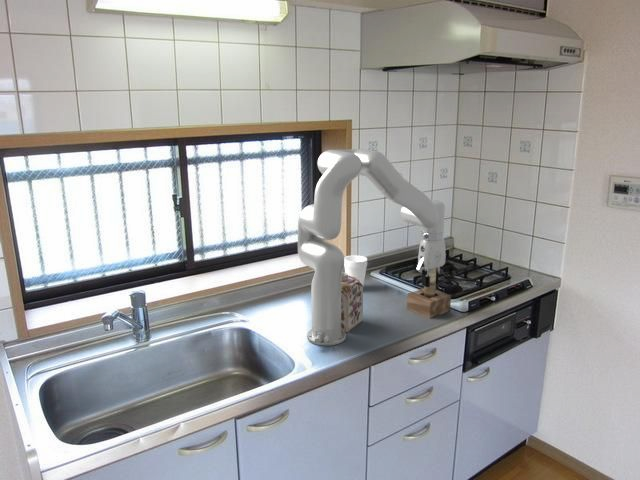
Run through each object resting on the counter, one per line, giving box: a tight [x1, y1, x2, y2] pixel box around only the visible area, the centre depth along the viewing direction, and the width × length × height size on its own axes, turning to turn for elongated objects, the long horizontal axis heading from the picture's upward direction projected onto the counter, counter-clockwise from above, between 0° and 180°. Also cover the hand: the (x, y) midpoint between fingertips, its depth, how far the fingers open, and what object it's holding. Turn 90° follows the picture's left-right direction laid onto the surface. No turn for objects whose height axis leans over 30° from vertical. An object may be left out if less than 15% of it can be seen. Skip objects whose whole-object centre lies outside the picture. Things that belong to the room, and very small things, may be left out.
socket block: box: [406, 288, 452, 319], centre depth 190 cm, size 11×11×6 cm
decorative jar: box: [341, 271, 364, 333], centre depth 177 cm, size 12×12×18 cm
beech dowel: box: [423, 268, 437, 297], centre depth 187 cm, size 4×4×12 cm
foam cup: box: [344, 254, 368, 287], centre depth 210 cm, size 10×9×13 cm
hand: (429, 284), depth 188 cm, fingers closed on beech dowel, 4 cm apart
